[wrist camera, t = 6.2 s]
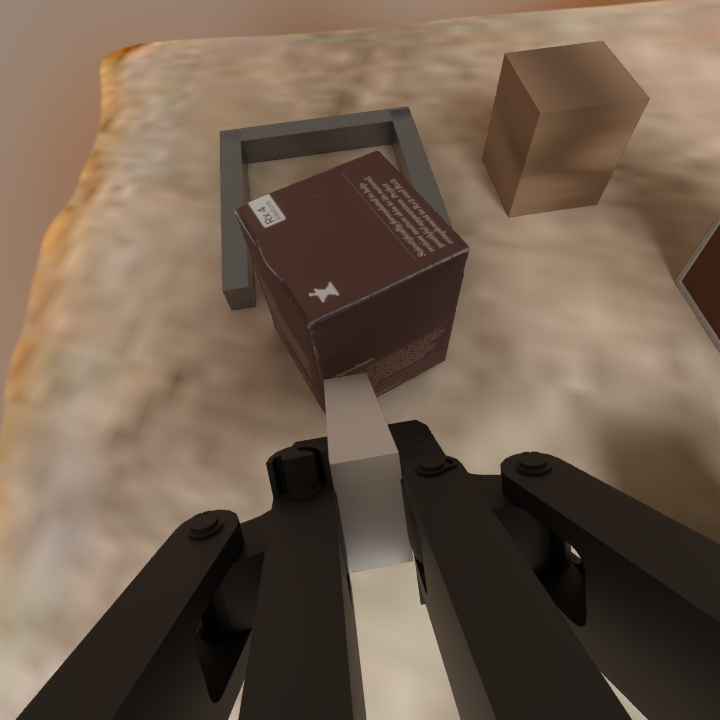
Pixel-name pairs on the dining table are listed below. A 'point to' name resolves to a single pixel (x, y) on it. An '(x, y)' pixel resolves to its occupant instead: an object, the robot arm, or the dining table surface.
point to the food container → (704, 282)
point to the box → (356, 273)
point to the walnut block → (559, 126)
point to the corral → (300, 142)
